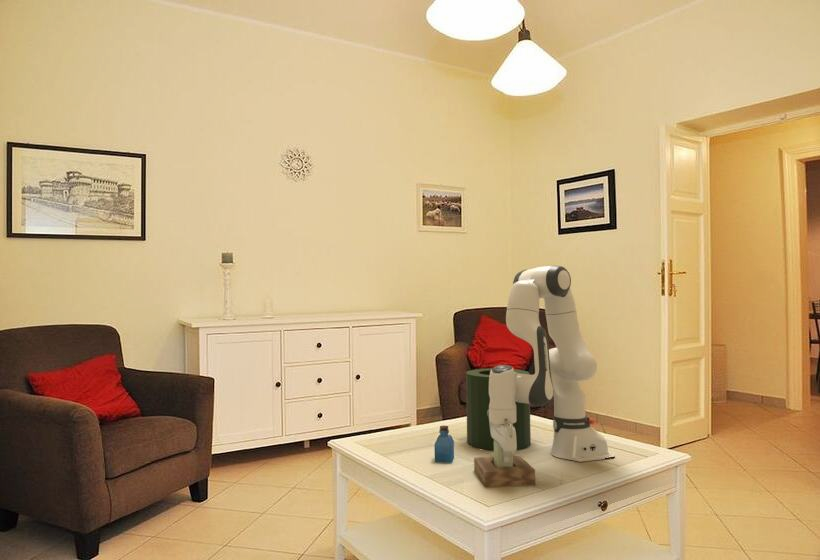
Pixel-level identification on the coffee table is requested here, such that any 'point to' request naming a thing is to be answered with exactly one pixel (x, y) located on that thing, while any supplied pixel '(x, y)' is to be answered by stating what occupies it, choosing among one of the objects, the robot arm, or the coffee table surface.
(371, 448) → the coffee table surface
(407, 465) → the coffee table surface
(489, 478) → the walnut stand
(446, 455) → the perfume bottle
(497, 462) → the sage plug
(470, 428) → the flower pot
